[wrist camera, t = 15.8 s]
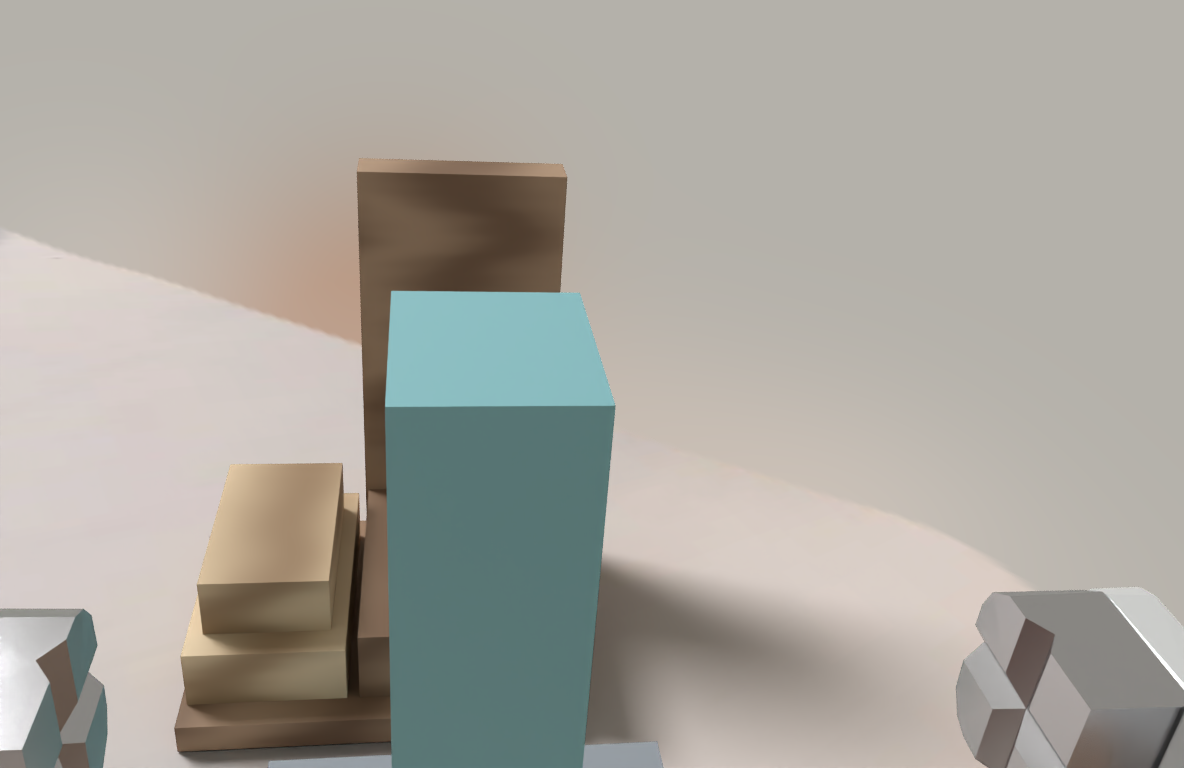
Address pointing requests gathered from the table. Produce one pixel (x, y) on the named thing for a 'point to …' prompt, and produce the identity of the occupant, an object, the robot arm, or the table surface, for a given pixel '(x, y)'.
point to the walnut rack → (387, 263)
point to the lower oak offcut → (279, 647)
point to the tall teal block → (493, 526)
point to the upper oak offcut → (273, 550)
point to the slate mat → (601, 762)
